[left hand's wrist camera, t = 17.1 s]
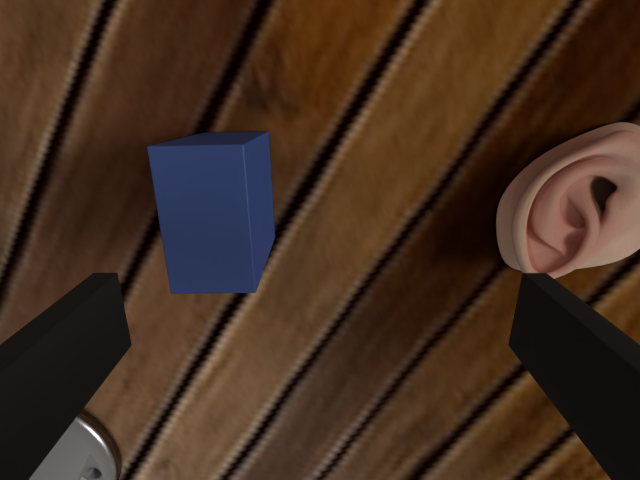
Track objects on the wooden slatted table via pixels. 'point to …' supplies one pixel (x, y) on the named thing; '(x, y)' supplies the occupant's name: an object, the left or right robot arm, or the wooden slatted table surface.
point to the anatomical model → (574, 204)
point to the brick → (214, 210)
